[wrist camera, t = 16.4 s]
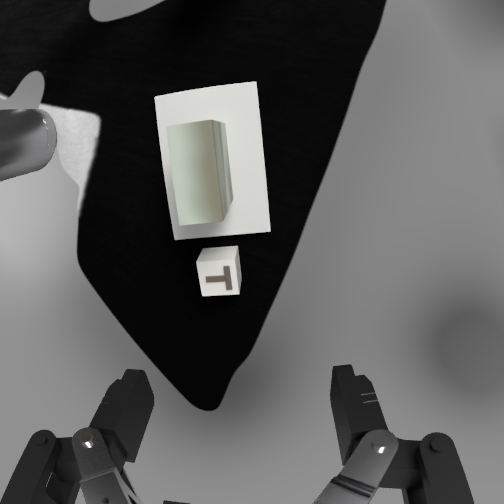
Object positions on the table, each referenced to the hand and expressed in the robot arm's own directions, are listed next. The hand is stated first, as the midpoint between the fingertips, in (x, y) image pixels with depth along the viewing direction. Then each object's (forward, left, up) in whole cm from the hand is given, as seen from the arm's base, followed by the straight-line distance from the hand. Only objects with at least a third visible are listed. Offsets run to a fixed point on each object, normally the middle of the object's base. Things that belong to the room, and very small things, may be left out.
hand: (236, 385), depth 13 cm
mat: (-4, +7, -28) cm, 30 cm away
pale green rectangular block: (-4, +7, -28) cm, 29 cm away
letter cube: (-5, -6, -29) cm, 30 cm away
